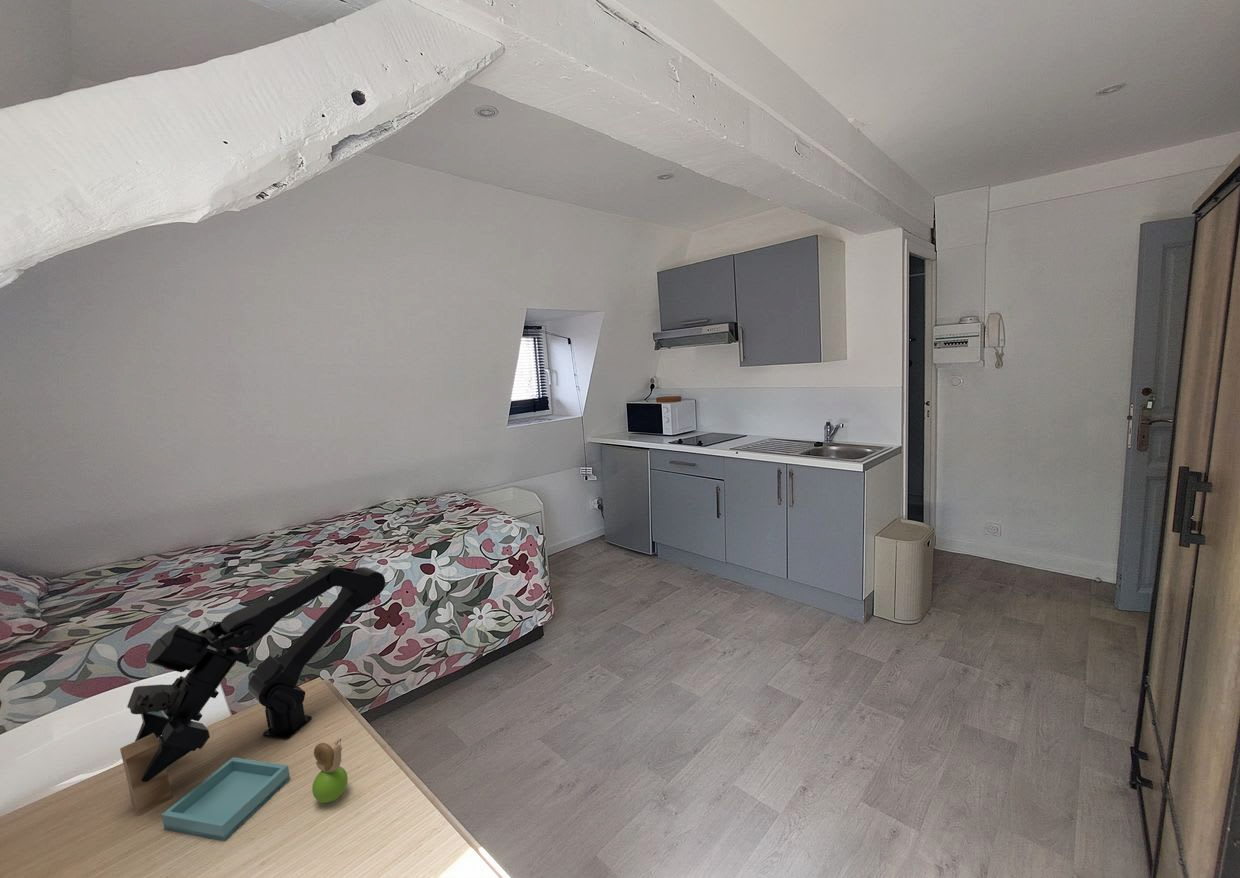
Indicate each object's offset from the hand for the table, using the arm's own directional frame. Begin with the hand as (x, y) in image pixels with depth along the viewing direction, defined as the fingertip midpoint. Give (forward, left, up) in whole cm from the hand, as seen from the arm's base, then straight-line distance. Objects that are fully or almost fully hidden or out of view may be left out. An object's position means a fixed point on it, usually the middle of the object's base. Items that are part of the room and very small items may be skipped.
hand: (137, 769), depth 90 cm
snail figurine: (-33, -7, -7) cm, 35 cm away
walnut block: (0, -1, -7) cm, 7 cm away
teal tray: (-15, -3, -7) cm, 17 cm away
